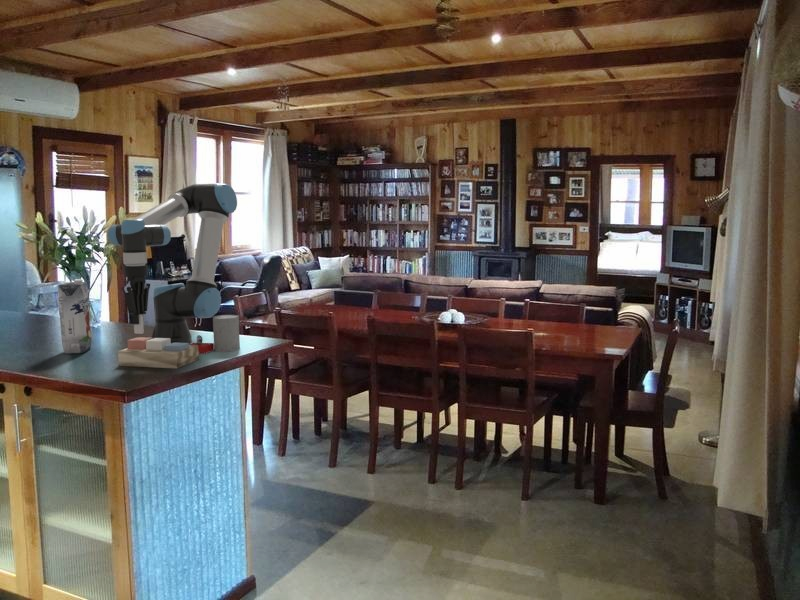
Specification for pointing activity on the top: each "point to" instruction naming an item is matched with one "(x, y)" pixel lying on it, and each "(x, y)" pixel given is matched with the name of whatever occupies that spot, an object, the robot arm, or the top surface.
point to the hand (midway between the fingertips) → (139, 333)
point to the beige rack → (158, 357)
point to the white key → (157, 343)
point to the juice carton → (74, 316)
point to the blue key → (176, 346)
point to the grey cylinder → (226, 333)
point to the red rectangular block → (203, 345)
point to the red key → (137, 343)
